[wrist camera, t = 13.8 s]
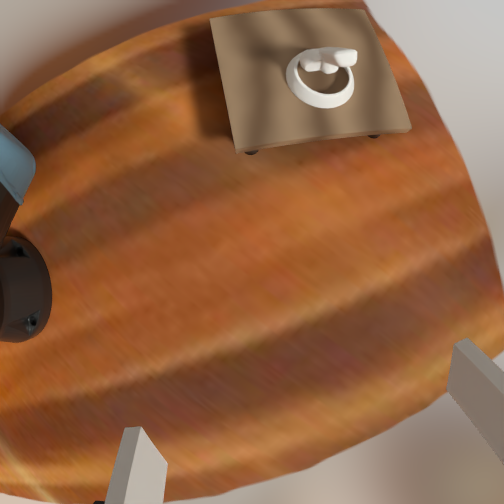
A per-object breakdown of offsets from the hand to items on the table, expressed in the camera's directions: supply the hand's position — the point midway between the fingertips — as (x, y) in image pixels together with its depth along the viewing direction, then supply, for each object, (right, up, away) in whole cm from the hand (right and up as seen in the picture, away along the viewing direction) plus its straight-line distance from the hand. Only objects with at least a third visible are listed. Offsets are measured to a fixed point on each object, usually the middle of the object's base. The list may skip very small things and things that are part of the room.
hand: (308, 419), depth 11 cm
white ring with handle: (+5, +25, +20) cm, 33 cm away
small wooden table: (+4, +27, +26) cm, 38 cm away
